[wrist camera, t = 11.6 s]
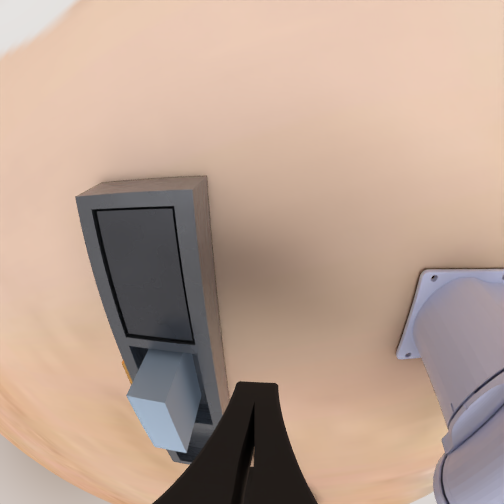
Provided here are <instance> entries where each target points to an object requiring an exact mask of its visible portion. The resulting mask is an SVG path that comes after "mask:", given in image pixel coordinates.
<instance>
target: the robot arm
mask: <svg viewBox="0 0 504 504" xmlns="http://www.w3.org/2000/svg"><path fill="white" fill-rule="evenodd" d="M434 275H435V277H434V278H433V279H431V278H432V276H434ZM407 353H408V354H407ZM396 356H397V358H398V359H412V358H421V359H422V361H423V363H424V366H425V368H426V371H427V373H428V376H429V378H430V381H431V383H432V386H433V388H434V391H435V394H436V396H437V399H438V402H439V405H440V407H441V410H442V413H443V416H444V419H445V422H446V425H447V428H448V433H447V434H446V435H445V436H444V437H443V438H442V443H443V447H444V450H445V453H444V454H443V456H442V457H441V458H440V459H439V461H438V463H437V465H436V468H435V472H434V477H433V488H434V494H435V498H436V501H437V504H504V269H427V270H424V271H423V272H422V273H421V275H420V278H419V282H418V286H417V290H416V293H415V297H414V300H413V304H412V307H411V310H410V313H409V317H408V320H407V323H406V326H405V329H404V332H403V335H402V338H401V341H400V344H399V346H398V349H397V352H396ZM254 446H255V454H254V468H253V476H252V484H251V491H250V499H249V504H318V503H317V502H316V500H315V498H314V496H313V494H312V493H311V491H310V489H309V487H308V485H307V483H306V481H305V479H304V476H303V474H302V472H301V470H300V467H299V465H298V463H297V460H296V458H295V455H294V452H293V450H292V447H291V444H290V441H289V438H288V435H287V431H286V428H285V425H284V421H283V417H282V412H281V407H280V402H279V393H278V385H277V384H276V383H260V382H241V381H240V382H238V383H237V384H236V387H235V390H234V392H233V395H232V397H231V399H230V402H229V404H228V406H227V408H226V410H225V412H224V414H223V416H222V417H221V419H220V421H219V423H218V425H217V426H216V428H215V430H214V431H213V433H212V435H211V436H210V438H209V439H208V441H207V442H206V444H205V445H204V447H203V448H202V450H201V451H200V452H199V454H198V455H197V457H196V458H195V459H194V461H193V462H192V463H191V464H190V466H189V467H188V468H187V469H186V470H185V472H184V473H183V474H182V475H181V476H180V477H179V478H178V479H177V480H176V482H175V483H174V484H173V485H172V486H171V487H170V488H169V489H168V490H167V491H166V492H165V493H164V494H163V495H162V496H161V497H159V498H158V499H157V500H156V501H155V502H154V503H152V504H243V502H244V494H245V489H246V484H247V479H248V475H249V470H250V465H251V460H252V455H253V451H254Z"/></svg>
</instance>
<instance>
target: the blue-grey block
mask: <svg viewBox="0 0 504 504" xmlns="http://www.w3.org/2000/svg"><path fill="white" fill-rule="evenodd" d="M126 396H127V398H128V400H129V402H130V404H131V405H132V407H133V409H134V411H135V413H136V415H137V417H138V419H139V420H140V422H141V424H142V426H143V427H144V429H145V431H146V433H147V434H148V436H149V438H150V440H151V441H152V443H153V445H154V446H155V447H158V448H163V449H168V450H173V451H178V452H184V453H187V450H188V446H189V442H190V438H191V434H192V430H193V427H194V423H195V419H196V415H197V411H198V408H199V404H200V400H201V396H202V395H201V391H200V387H199V382H198V378H197V374H196V369H195V365H194V360H193V356H192V353H182V352H173V351H164V350H156V349H148V352H147V354H146V356H145V358H144V360H143V362H142V364H141V366H140V368H139V370H138V372H137V374H136V376H135V378H134V381H133V383H132V385H131V387H130V389H129V391H128V393H127V395H126Z"/></svg>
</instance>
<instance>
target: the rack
mask: <svg viewBox="0 0 504 504" xmlns="http://www.w3.org/2000/svg"><path fill="white" fill-rule="evenodd" d="M76 203H77V208H78V213H79V217H80V222H81V227H82V231H83V235H84V240H85V244H86V248H87V252H88V256H89V259H90V263H91V267H92V270H93V274H94V277H95V281H96V284H97V287H98V291H99V294H100V297H101V300H102V303H103V306H104V309H105V312H106V315H107V318H108V321H109V324H110V327H111V329H112V332H113V335H114V337H115V340H116V343H117V345H118V348H119V350H120V353H121V355H122V358H123V362H122V365H123V367H124V369H125V372H126V374H127V376H128V378H129V381H130V383H131V385H132V383H133V381H134V378H135V376H136V374H137V372H138V370H139V368H140V366H141V364H142V362H143V360H144V358H145V356H146V354H147V352H148V349H156V350H164V351H173V352H182V353H192V356H193V360H194V365H195V369H196V374H197V378H198V382H199V387H200V391H201V395H202V396H201V400H200V404H199V408H198V411H197V415H196V419H195V423H194V427H193V430H192V434H191V438H190V442H189V446H188V450H187V453H184V452H178V451H173V450H168V449H167V451H168V453H169V455H170V456H171V458H172V460H173V461H174V462H179V463H184V464H191V463H192V462H193V461H194V459H195V458H196V457H197V455H198V454H199V452H200V451H201V450H202V448H203V447H204V445H205V444H206V442H207V441H208V439H209V438H210V436H211V435H212V433H213V431H214V430H215V428H216V426H217V425H218V423H219V421H220V419H221V417H222V416H223V414H224V412H225V410H226V408H227V406H228V404H229V402H230V400H229V392H228V385H227V377H226V369H225V361H224V353H223V345H222V336H221V328H220V319H219V310H218V300H217V290H216V280H215V270H214V259H213V248H212V237H211V225H210V212H209V198H208V184H207V176H189V177H169V178H153V179H138V180H126V181H115V182H104V183H100V184H98V185H96V186H95V187H93V188H91V189H89V190H87V191H85V192H83V193H81V194H79V195H78V196H76Z"/></svg>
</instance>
